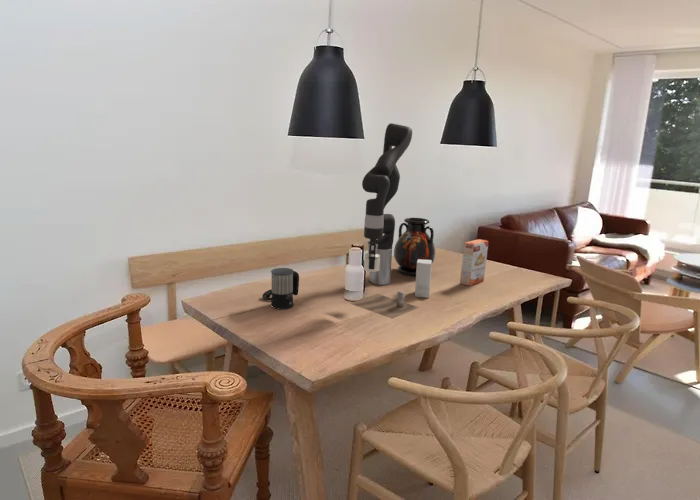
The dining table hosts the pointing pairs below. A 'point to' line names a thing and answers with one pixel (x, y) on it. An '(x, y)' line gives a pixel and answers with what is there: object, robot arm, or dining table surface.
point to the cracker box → (474, 262)
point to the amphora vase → (413, 245)
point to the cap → (366, 262)
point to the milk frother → (283, 288)
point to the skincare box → (423, 278)
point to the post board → (386, 305)
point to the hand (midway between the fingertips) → (371, 266)
